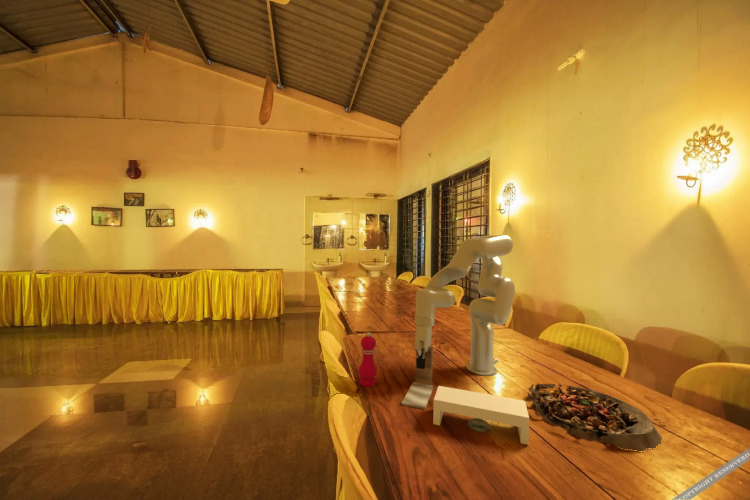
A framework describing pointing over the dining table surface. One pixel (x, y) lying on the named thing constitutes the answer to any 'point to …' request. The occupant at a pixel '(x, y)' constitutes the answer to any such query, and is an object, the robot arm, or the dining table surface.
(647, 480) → the dining table surface
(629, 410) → the food dish
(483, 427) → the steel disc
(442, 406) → the cream footstool
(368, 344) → the pepper mill
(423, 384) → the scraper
